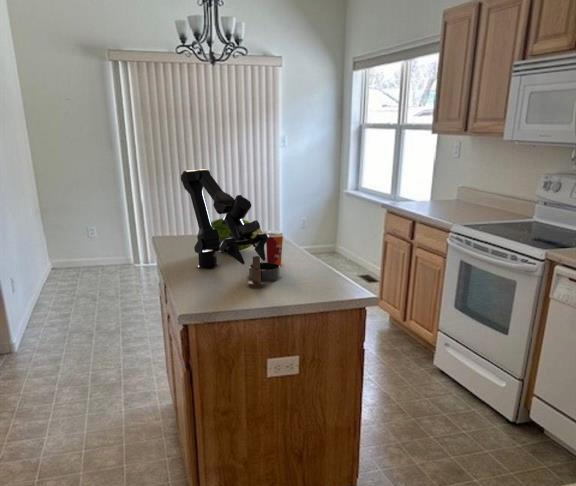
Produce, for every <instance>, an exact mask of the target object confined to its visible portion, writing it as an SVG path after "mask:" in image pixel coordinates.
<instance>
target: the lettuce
mask: <svg viewBox="0 0 576 486" xmlns="http://www.w3.org/2000/svg"><path fill="white" fill-rule="evenodd" d="M241 220H242V222H243V224H246V223H251V222H252V221H250V220H248V219H245V218H243V219H241ZM222 221H223V217H221V218H218V219H215V220H212V221H210V223H211V226H212V227H213V228H214V229H217V230H218V235H219V237H220V245H221V244H222V242H223V241H224V239H226V238H233V236H232V237H230V235H229V234H230V230H229V228H228V226H227V224H222ZM261 233H264V231H263V228H262V227H260V229H258V231H255V232H253V236H251V237H250V238H251V239H253V238H255V236H256V235H257V234H261ZM252 246H253V245H252V244H250V245H243V246H238V248H239V251H243V250H246V249H249V248H250V247H252ZM219 252H221V250H220V247H219Z"/></svg>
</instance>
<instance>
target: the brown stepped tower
mask: <svg viewBox="0 0 576 486" xmlns="http://www.w3.org/2000/svg"><path fill="white" fill-rule="evenodd" d="M260 262H261V258H260V256H259V255H255V256H252V264H253V268H252V280H249V281H248V287H249V288H250V289H262V288H264V287H265V282H263V281H261V270H259V269H260Z"/></svg>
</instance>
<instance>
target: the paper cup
mask: <svg viewBox="0 0 576 486" xmlns="http://www.w3.org/2000/svg"><path fill="white" fill-rule="evenodd" d="M265 233H266V234H267V235H268V237H269V239H268V240H267V242H266V243H265V247H266V262H267V263H274V264H277V265H279V267H281V266H282V256H283V255H282V254H283V242H284V236H285V234H284V232H283V231H282V230H267V231H266V232H265Z"/></svg>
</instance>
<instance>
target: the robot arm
mask: <svg viewBox="0 0 576 486" xmlns="http://www.w3.org/2000/svg"><path fill="white" fill-rule="evenodd" d="M180 182H181V183H182V186H183V188H184V191H186V192H187V193H188V194H189V196H190V199H191V203H192V206H193V207H192V208H193V210H194V214H195V218H196V222H197V226H198V233H197V236H196V238H197V241H196V243H195V245H194V247H193V248H194V252H195V253H196V254H197V255H198V265H197V266H196V267H197V268H198V269H207V270H213V269H214V268H216V267H217V266H218V256H217V255H216V253H219V252H221V254H225V255H226V256H227V255H228V256H229V257H231V258H233V259H234V260H236V261H237V262H238V263H240V264H241V265H242V266H243V265H245V264H246V262H245V259H244V257H243V255H242V253H241V252H240V251H241V250H239V248H238V246H243V245H250V244H252V246H253V248H254V251H255V252H256V254H257V256H259V257H260V260H261V261H262V262H265V261H266V252H265V246H266V242H267V240H268V239H269V237H268V235H267V234H266V232H263V233H261V234H257V235H256V236H255V238H253V239H251V238H250V237H251V236H253V232H255V231H258V229H260V228H261V224H260V222H259V221H258V220H257V219H256V220H253V221H250V222H251V223H246V224H243V222H242V220H241V219H245V218H246V216H247V214H248V213H249V212H250V210H251V208H252V203H251V201H250V200H249V199H248V198H246V197H244V196H243V195H242V194H236V196H235V198H234V197H233V196H232V195H231V194H229V193H227V192H225V191H224V190H223V189H222V188H221V186H220V185H219V183H218V182H217V181H216V179H214V177H213V176H212V174H211V171H210V169H206V168H203V169H202V168H200V169H193V170H183V172H182V173H181V174H180ZM203 189H205V191H206V192H207V194H208V195H209V196H210V198H211V199H212V201H213V202H212V206H213V208H214V210H215V212H216V213H217V214H218V215H224V216H223V217H222V218H223V221H222V224H227V226H228V228H229V230H230V234H229V235H230V237H232V236H233V238H226V239H224V241H223V242H222V244H221V245H220V237H219V235H218V230H217V229H214V228H213V227H212V226H211V221H210V216H209V212H208V209H207V204H206V201H205V198H204V194H203ZM219 247H220V250H221V251H219Z"/></svg>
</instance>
